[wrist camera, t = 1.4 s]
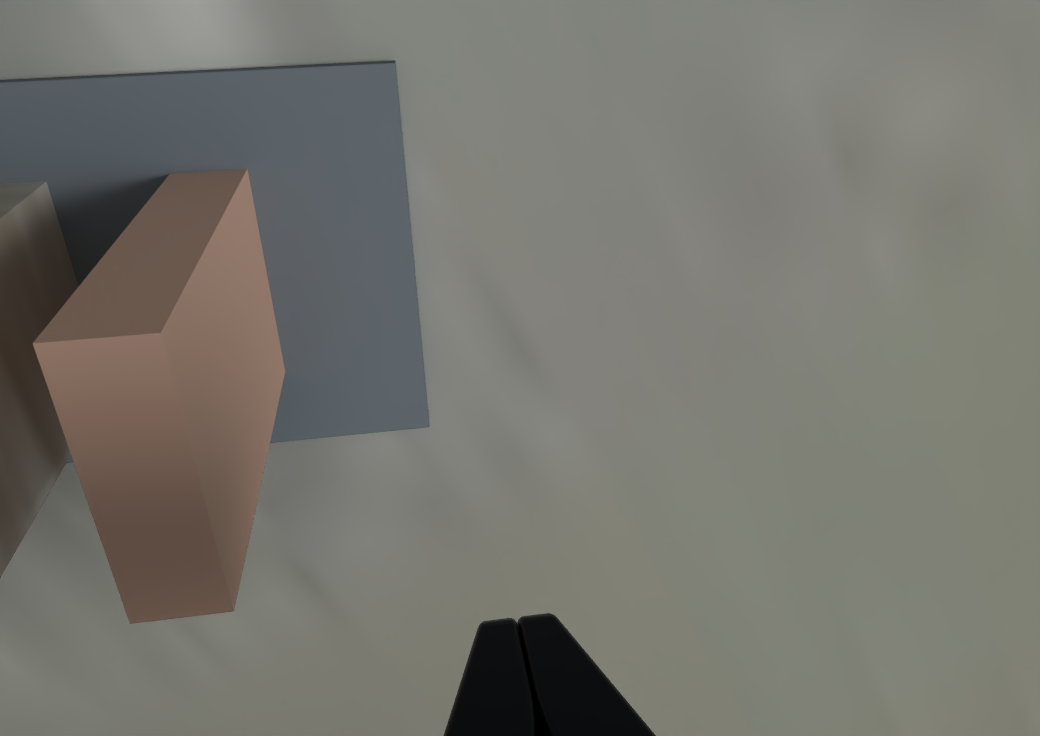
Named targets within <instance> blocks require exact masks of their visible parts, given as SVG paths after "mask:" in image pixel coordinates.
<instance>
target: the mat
mask: <svg viewBox="0 0 1040 736" xmlns="http://www.w3.org/2000/svg"><path fill="white" fill-rule="evenodd" d="M237 169H248V175H249V180H250V186H251V191H252V196H253V202H254V207H255V212H256V218H257V223H258V229H259V234H260V239H261V245H262V250H263V255H264V261H265V266H266V271H267V277H268V282H269V288H270V293H271V298H272V304H273V309H274V314H275V320H276V325H277V331H278V336H279V341H280V347H281V352H282V357H283V363H284V368H285V375H284V380H283V384H282V389H281V394H280V398H279V403H278V408H277V412H276V417H275V422H274V426H273V431H272V436H271V440H270V443H274V442H284V441H294V440H304V439H314V438H324V437H334V436H345V435H355V434H365V433H375V432H385V431H395V430H405V429H416V428H426V427H429V416H428V405H427V394H426V384H425V373H424V362H423V352H422V341H421V330H420V320H419V309H418V298H417V288H416V277H415V266H414V255H413V245H412V234H411V223H410V213H409V202H408V191H407V181H406V170H405V159H404V148H403V138H402V127H401V116H400V106H399V95H398V84H397V74H396V63H395V61H380V62H360V63H340V64H320V65H300V66H280V67H260V68H240V69H220V70H200V71H179V72H159V73H139V74H119V75H99V76H79V77H59V78H39V79H19V80H0V184H14V183H30V182H45V181H46V182H47V185H48V188H49V192H50V195H51V198H52V201H53V205H54V208H55V211H56V214H57V218H58V221H59V224H60V228H61V231H62V234H63V237H64V241H65V244H66V247H67V250H68V254H69V257H70V260H71V263H72V267H73V270H74V273H75V276H76V280H77V283H78V286H80V284H81V283H82V282H83V281H84V279H85V278H86V277H87V276H88V274H89V273H90V272H91V271H92V270H93V268H94V267H95V266H96V265H97V263H98V262H99V261H100V260H101V258H102V257H103V256H104V255H105V254H106V252H107V251H108V250H109V249H110V247H111V246H112V245H113V244H114V242H115V241H116V240H117V239H118V237H119V236H120V235H121V234H122V233H123V231H124V230H125V229H126V228H127V226H128V225H129V224H130V223H131V221H132V220H133V219H134V218H135V216H136V215H137V214H138V213H139V212H140V210H141V209H142V208H143V207H144V205H145V204H146V203H147V202H148V200H149V199H150V198H151V197H152V195H153V194H154V193H155V192H156V191H157V189H158V188H159V187H160V186H161V184H162V183H163V182H164V181H165V179H166V178H167V177H168V176H169V175H170V174H173V173H189V172H205V171H221V170H237ZM71 462H74V461H73V458H72V455H71V456H70V457H69V459H68V461H67V462H66V463H71Z"/></svg>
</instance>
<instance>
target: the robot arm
mask: <svg viewBox="0 0 1040 736" xmlns="http://www.w3.org/2000/svg"><path fill="white" fill-rule="evenodd" d="M444 736H656V735H655V734H654V733H653V732H652V731H651V729H650V728H649V727H648V726H647V725H646V723H645V722H644V721H643V720H642V719H641V717H640V716H639V715H638V714H637V713H636V711H635V710H634V709H633V708H632V707H631V705H630V704H629V703H628V702H627V701H626V699H625V698H624V697H623V696H622V695H621V694H620V692H619V691H618V690H617V689H616V688H615V686H614V685H613V684H612V683H611V682H610V680H609V679H608V678H607V677H606V676H605V674H604V673H603V672H602V671H601V670H600V668H599V667H598V666H597V665H596V664H595V662H594V661H593V660H592V659H591V658H590V656H589V655H588V654H587V653H586V652H585V650H584V649H583V648H582V647H581V646H580V644H579V643H578V642H577V641H576V640H575V638H574V637H573V636H572V635H571V634H570V632H569V631H568V630H567V629H566V628H565V627H564V625H563V624H562V623H561V622H560V621H559V619H558V618H557V617H556V616H555V615H553V614H550V613H546V614H538V615H530V616H523V617H521V618H520V619H519V620H518V622H516V621H515V620H514V619H512V618H506V619H498V620H490V621H484V622H482V623H481V624H480V625H479V627H478V629H477V632H476V636H475V639H474V642H473V645H472V648H471V651H470V655H469V658H468V661H467V664H466V667H465V670H464V673H463V677H462V680H461V683H460V686H459V689H458V692H457V696H456V699H455V702H454V705H453V708H452V711H451V714H450V718H449V721H448V724H447V727H446V730H445V733H444Z"/></svg>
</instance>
